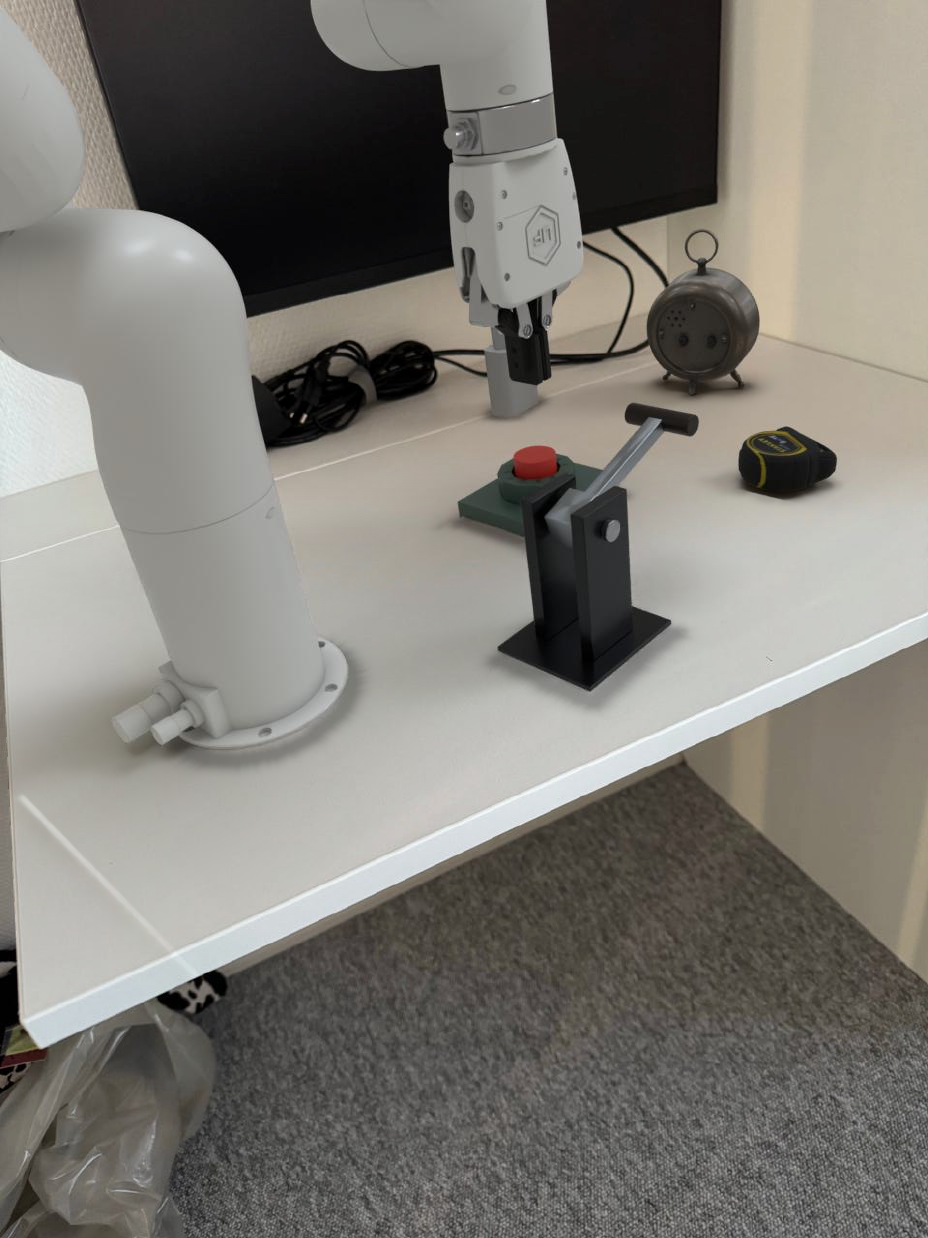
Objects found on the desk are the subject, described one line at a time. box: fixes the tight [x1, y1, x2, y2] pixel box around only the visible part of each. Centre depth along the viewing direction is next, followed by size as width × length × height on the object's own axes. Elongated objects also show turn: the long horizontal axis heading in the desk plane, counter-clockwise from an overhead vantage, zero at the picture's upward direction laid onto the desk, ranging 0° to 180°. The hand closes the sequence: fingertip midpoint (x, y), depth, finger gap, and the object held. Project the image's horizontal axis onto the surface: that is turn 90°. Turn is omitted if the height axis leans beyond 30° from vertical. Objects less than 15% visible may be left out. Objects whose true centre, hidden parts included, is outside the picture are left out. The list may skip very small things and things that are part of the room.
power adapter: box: [483, 308, 539, 419], centre depth 100 cm, size 3×5×12 cm, turn 140°
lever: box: [544, 402, 700, 549], centre depth 61 cm, size 12×5×2 cm, turn 136°
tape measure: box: [737, 425, 838, 493], centre depth 80 cm, size 7×7×4 cm
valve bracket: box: [497, 473, 672, 692], centre depth 62 cm, size 9×8×12 cm
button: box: [512, 445, 557, 480], centre depth 80 cm, size 4×4×2 cm
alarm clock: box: [646, 228, 761, 396], centre depth 97 cm, size 11×5×16 cm, turn 58°
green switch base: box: [457, 453, 620, 538], centre depth 82 cm, size 11×9×4 cm
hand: (530, 379), depth 77 cm, fingers closed
